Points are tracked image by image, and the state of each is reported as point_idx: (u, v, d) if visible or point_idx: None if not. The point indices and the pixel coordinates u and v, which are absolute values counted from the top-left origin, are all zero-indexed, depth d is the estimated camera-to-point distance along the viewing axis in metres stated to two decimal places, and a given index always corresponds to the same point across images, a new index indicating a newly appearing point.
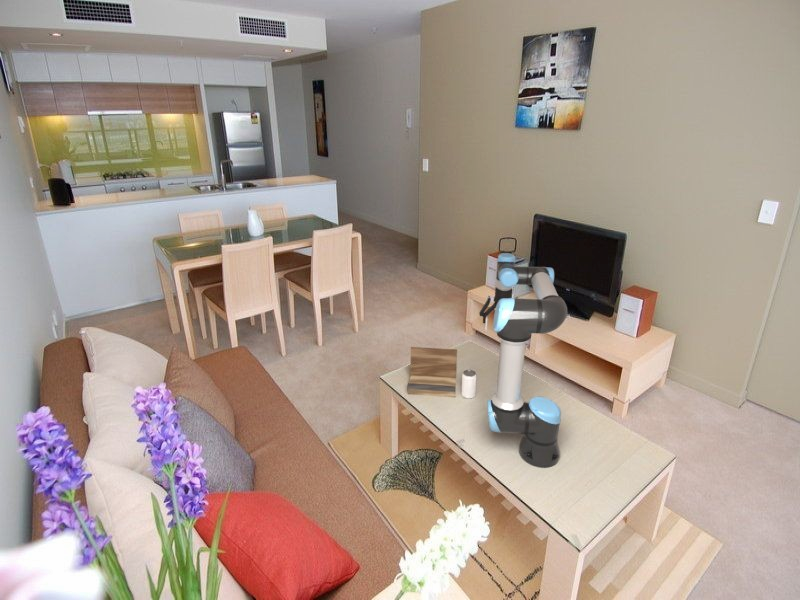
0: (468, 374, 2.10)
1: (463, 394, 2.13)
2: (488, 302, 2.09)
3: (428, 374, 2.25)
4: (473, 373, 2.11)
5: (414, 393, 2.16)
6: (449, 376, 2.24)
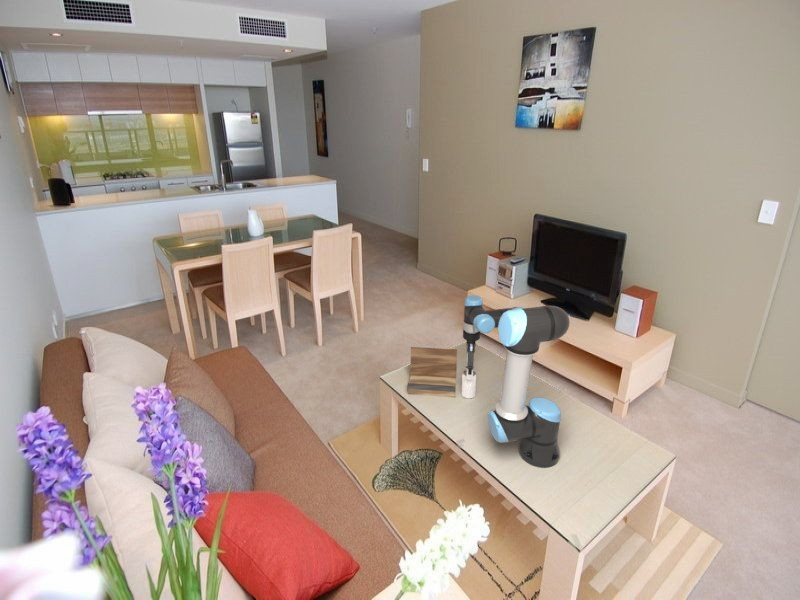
0: None
1: (463, 394, 2.13)
2: None
3: (428, 374, 2.25)
4: (473, 373, 2.11)
5: (414, 393, 2.16)
6: (449, 376, 2.24)
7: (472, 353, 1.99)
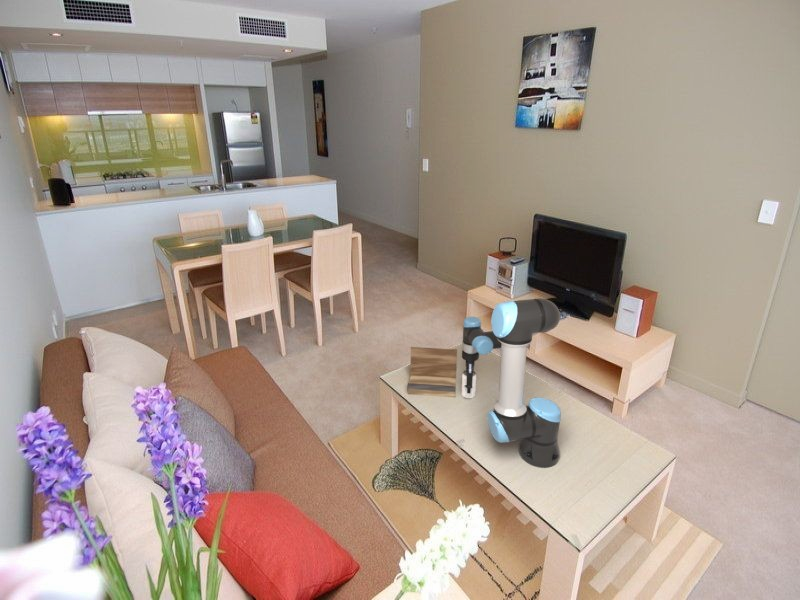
0: None
1: (463, 394, 2.13)
2: None
3: (428, 374, 2.25)
4: (473, 373, 2.11)
5: (414, 393, 2.16)
6: (449, 376, 2.24)
7: (471, 375, 2.04)
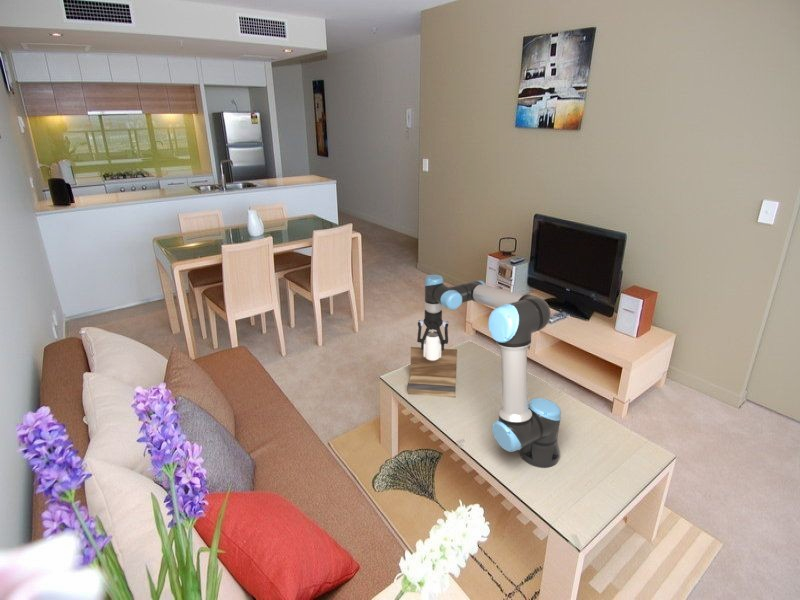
0: (434, 335, 2.05)
1: (437, 357, 2.07)
2: (419, 327, 2.04)
3: (428, 374, 2.25)
4: (432, 332, 2.07)
5: (414, 393, 2.16)
6: (449, 376, 2.24)
7: (447, 328, 2.04)
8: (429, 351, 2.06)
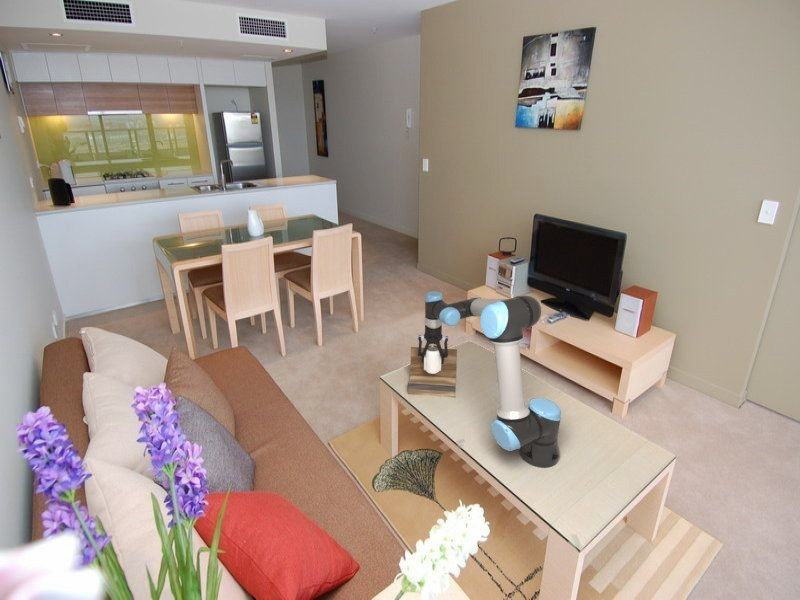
0: (434, 349, 2.12)
1: (437, 370, 2.14)
2: (420, 341, 2.10)
3: (428, 374, 2.25)
4: (432, 346, 2.14)
5: (414, 393, 2.16)
6: (449, 376, 2.24)
7: None
8: (429, 364, 2.12)
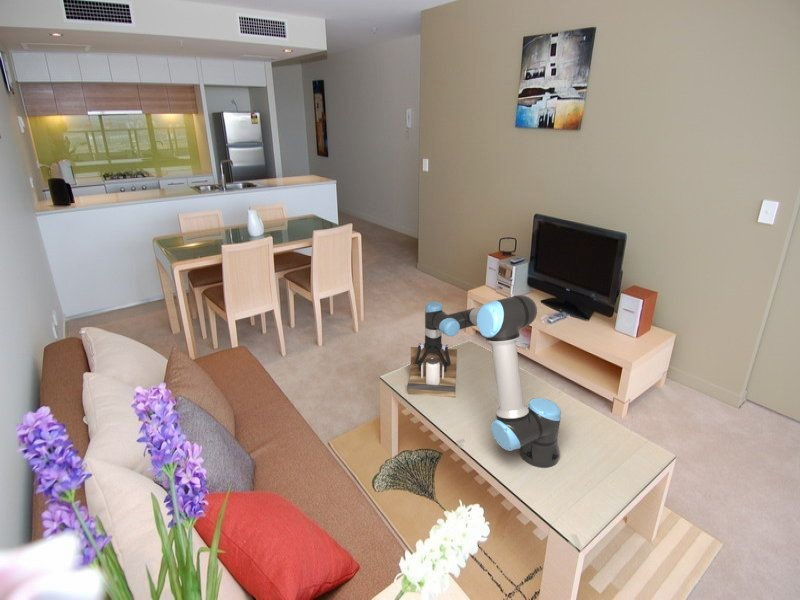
0: (434, 362, 2.15)
1: (437, 382, 2.17)
2: (419, 350, 2.12)
3: None
4: (432, 359, 2.17)
5: (414, 393, 2.16)
6: (449, 376, 2.24)
7: (447, 351, 2.13)
8: (430, 377, 2.15)
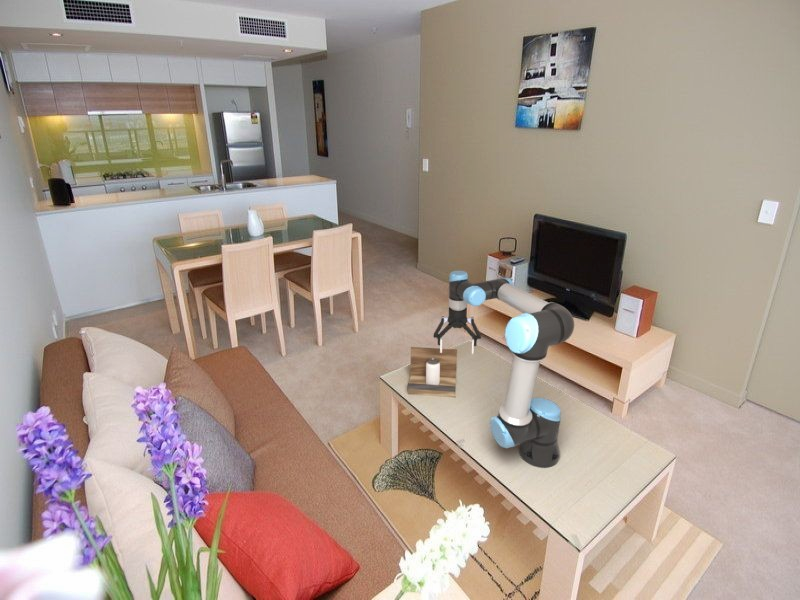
0: (434, 362, 2.15)
1: (437, 383, 2.17)
2: (442, 323, 1.96)
3: None
4: (432, 359, 2.17)
5: (414, 393, 2.16)
6: (449, 376, 2.24)
7: (474, 323, 1.97)
8: (430, 377, 2.15)
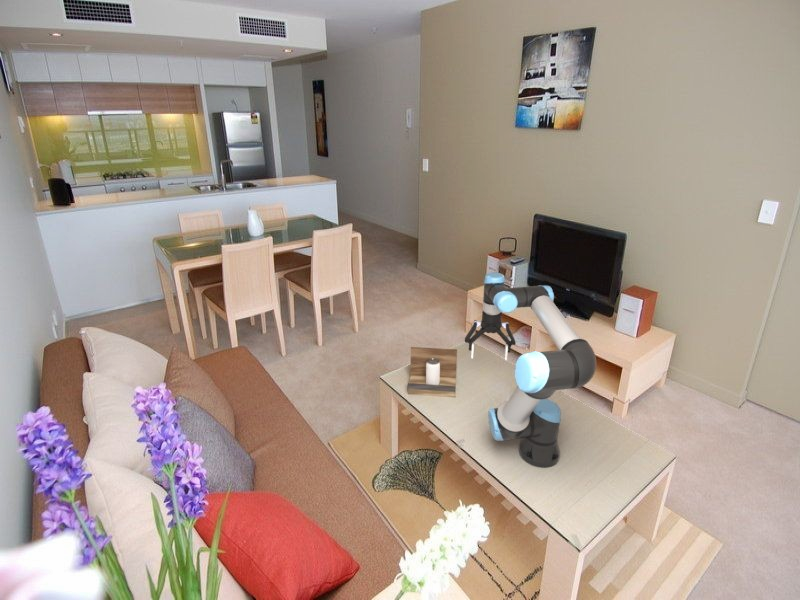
0: (434, 362, 2.15)
1: (437, 383, 2.17)
2: (474, 327, 1.85)
3: None
4: (432, 359, 2.17)
5: (414, 393, 2.16)
6: (449, 376, 2.24)
7: (509, 328, 1.85)
8: (430, 377, 2.15)
